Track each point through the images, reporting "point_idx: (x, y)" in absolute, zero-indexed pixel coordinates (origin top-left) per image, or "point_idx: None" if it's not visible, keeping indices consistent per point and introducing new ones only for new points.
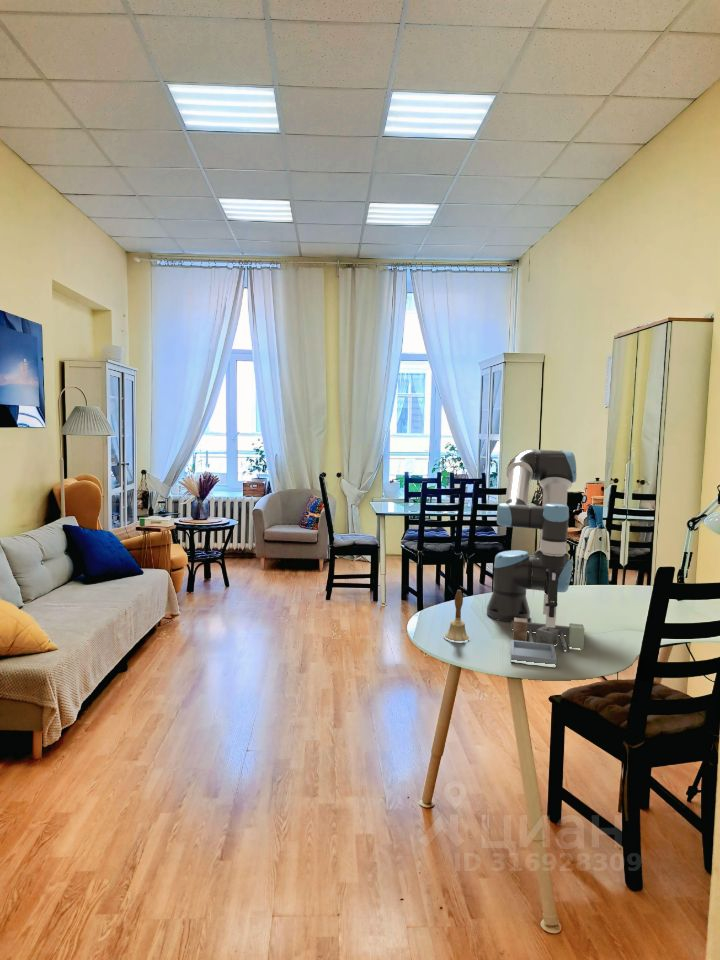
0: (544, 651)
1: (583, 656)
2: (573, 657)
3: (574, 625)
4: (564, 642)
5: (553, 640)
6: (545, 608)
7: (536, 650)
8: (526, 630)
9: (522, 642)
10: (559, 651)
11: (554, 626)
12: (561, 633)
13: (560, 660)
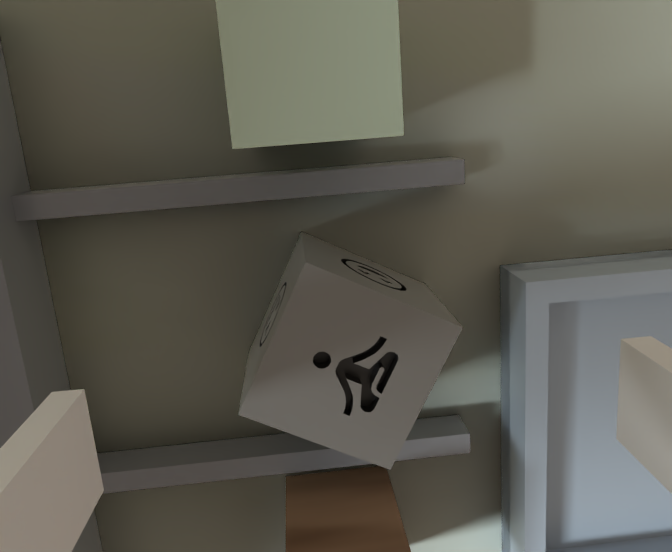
0: (583, 335)
1: (510, 9)
2: (560, 99)
3: (308, 84)
4: (339, 179)
5: (398, 284)
6: (69, 519)
7: (579, 393)
8: (406, 543)
9: (544, 516)
10: (456, 214)
11: (658, 348)
12: (74, 208)
13: (656, 205)
